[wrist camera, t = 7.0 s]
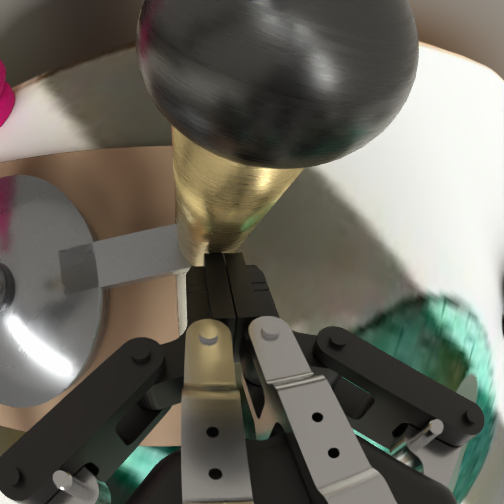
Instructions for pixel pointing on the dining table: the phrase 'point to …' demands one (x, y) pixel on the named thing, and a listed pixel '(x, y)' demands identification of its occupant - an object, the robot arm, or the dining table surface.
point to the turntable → (199, 161)
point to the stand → (108, 226)
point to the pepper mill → (5, 96)
